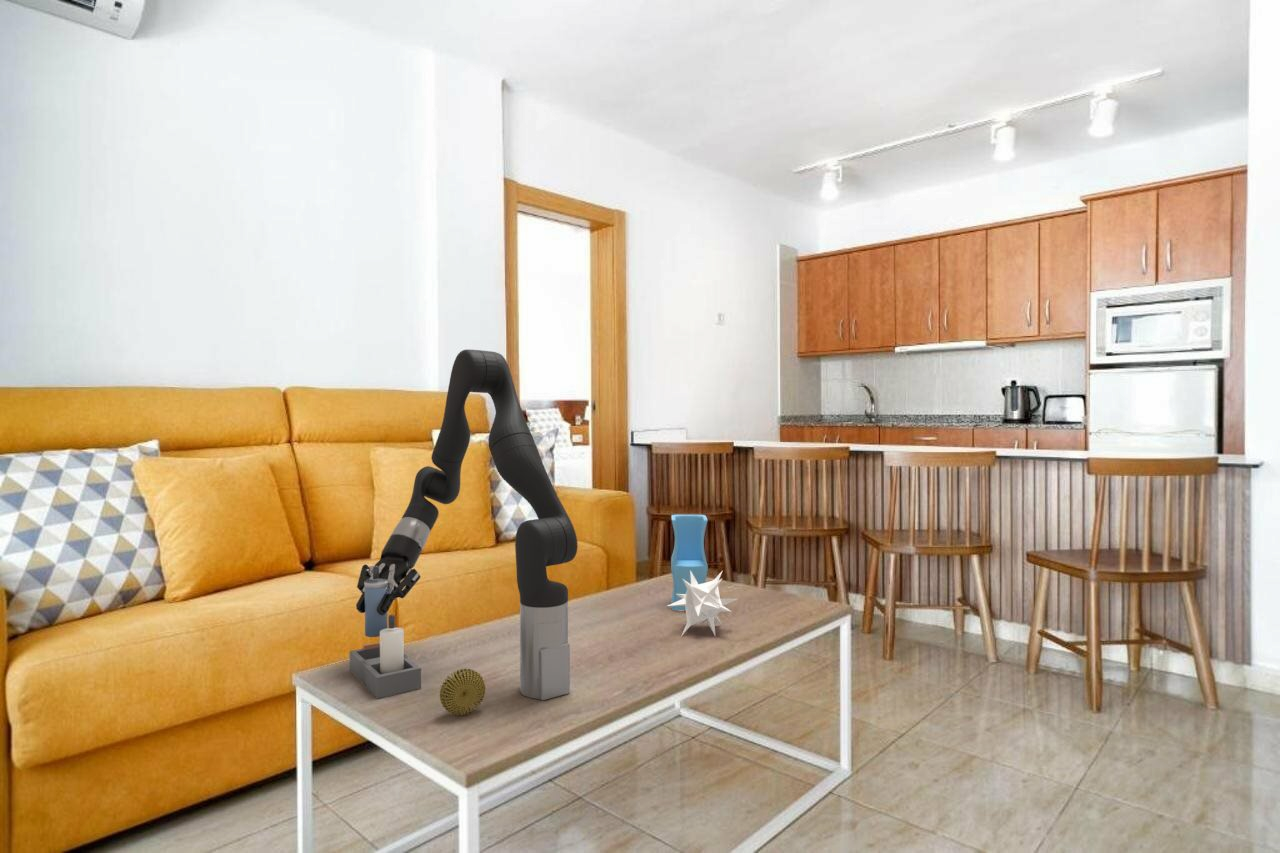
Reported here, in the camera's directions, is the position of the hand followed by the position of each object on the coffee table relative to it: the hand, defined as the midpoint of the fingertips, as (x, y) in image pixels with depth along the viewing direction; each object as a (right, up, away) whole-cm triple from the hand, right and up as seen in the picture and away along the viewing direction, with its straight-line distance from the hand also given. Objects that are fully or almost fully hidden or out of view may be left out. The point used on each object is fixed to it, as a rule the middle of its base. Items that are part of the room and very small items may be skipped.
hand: (370, 611), depth 145 cm
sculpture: (+24, -14, -19) cm, 33 cm away
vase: (+69, -12, +53) cm, 88 cm away
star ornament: (+71, -13, +30) cm, 78 cm away
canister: (+1, -5, +2) cm, 5 cm away
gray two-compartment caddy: (+4, -13, -2) cm, 14 cm away
